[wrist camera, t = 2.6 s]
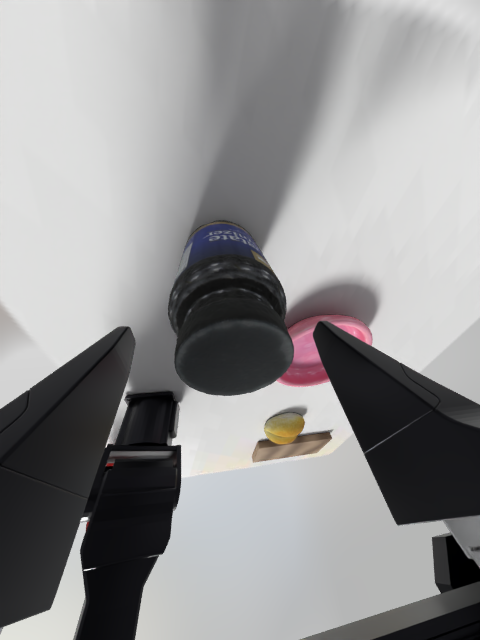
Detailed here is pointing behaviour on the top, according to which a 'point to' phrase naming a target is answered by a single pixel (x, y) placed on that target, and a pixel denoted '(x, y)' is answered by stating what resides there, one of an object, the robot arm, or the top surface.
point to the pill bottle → (228, 314)
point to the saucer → (306, 355)
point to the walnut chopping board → (290, 447)
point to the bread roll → (284, 428)
